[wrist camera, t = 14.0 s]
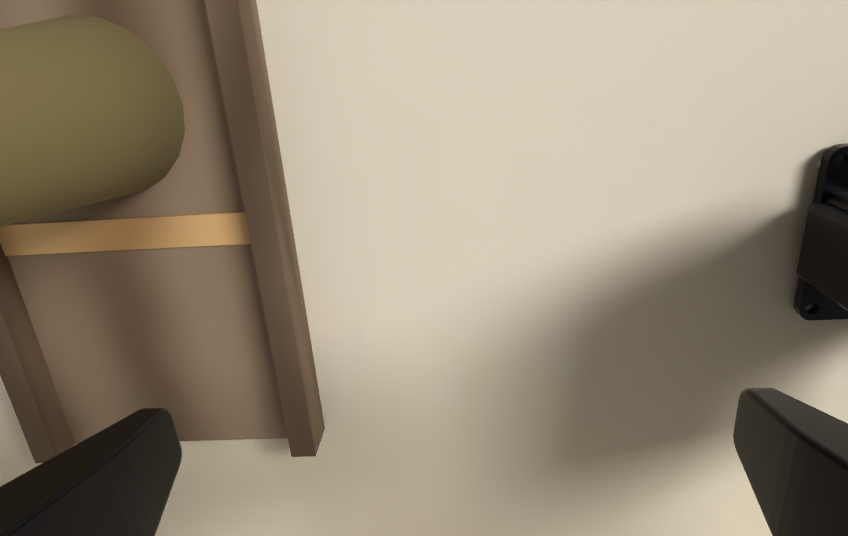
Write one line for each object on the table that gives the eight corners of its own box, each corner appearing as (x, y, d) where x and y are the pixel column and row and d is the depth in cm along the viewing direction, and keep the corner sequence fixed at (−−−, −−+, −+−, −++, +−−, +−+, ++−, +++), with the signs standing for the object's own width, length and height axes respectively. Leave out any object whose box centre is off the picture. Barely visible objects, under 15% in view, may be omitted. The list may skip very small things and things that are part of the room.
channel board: (232, -145, 17) (209, -163, 16) (324, 428, 25) (315, 456, 24) (-140, -109, 18) (-200, -124, 17) (62, 435, 26) (35, 463, 24)
